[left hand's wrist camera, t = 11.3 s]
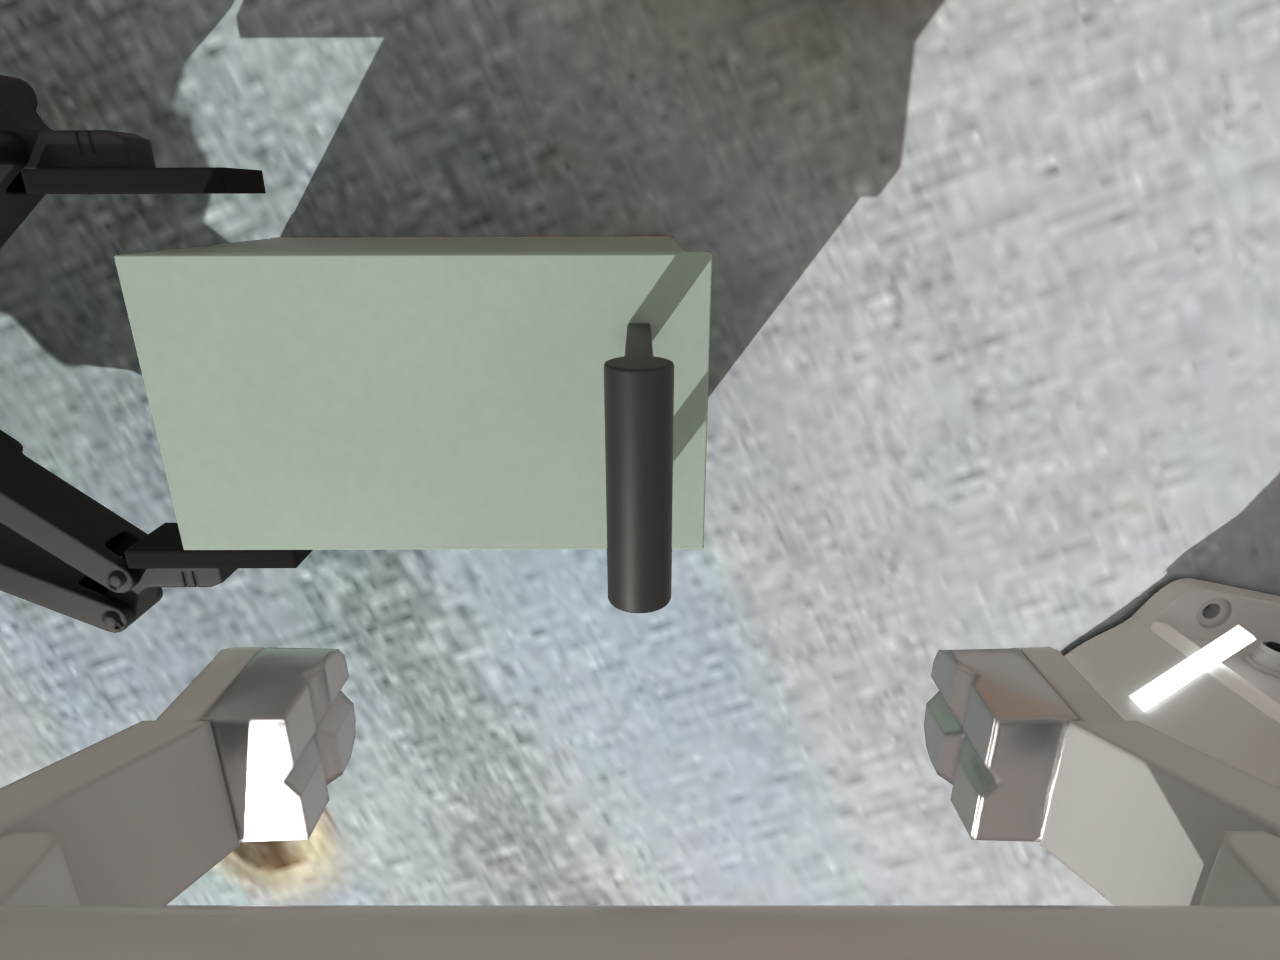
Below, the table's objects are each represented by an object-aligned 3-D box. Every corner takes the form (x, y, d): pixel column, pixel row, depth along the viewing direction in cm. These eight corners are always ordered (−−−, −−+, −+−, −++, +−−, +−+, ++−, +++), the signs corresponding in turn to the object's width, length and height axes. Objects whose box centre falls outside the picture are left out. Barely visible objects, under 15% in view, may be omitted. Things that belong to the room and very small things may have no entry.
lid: (709, 251, 23) (745, 278, 15) (700, 536, 26) (727, 679, 19) (135, 252, 23) (-127, 281, 15) (200, 537, 26) (12, 681, 18)
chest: (672, 236, 32) (686, 251, 23) (670, 449, 36) (680, 535, 26) (278, 237, 32) (136, 252, 23) (313, 450, 36) (201, 536, 26)
